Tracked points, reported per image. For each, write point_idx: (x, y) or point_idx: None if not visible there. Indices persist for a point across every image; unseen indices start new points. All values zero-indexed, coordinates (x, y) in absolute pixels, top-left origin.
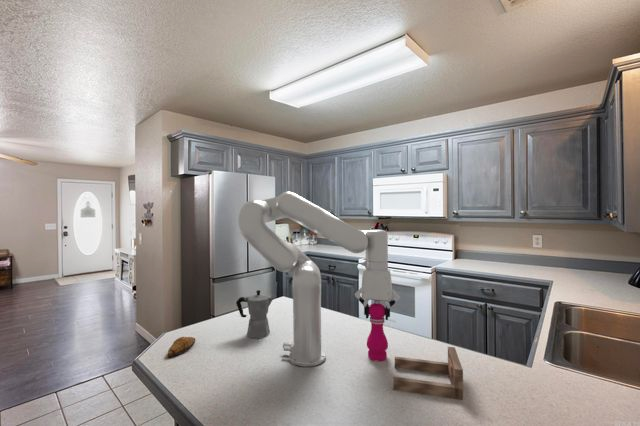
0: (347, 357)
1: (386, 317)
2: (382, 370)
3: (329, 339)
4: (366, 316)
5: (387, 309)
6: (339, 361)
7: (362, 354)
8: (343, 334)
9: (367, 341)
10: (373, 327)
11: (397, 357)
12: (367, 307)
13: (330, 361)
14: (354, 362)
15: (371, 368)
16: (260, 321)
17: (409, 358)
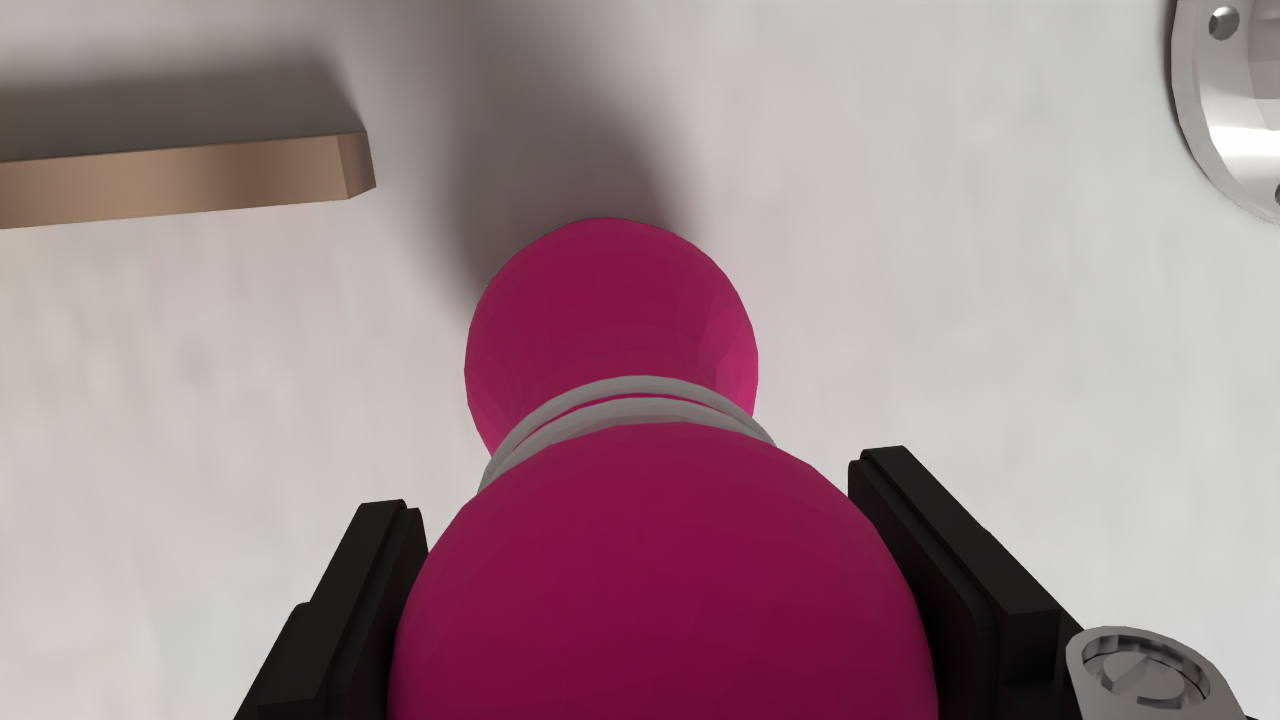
0: (926, 194)
1: (376, 530)
2: (487, 21)
3: (1178, 537)
4: (901, 461)
5: (267, 686)
6: (1000, 64)
7: (774, 324)
8: None
9: (745, 315)
10: (684, 380)
11: (306, 178)
12: (993, 621)
13: (1101, 27)
14: (830, 102)
15: (617, 25)
16: None
17: (152, 205)
